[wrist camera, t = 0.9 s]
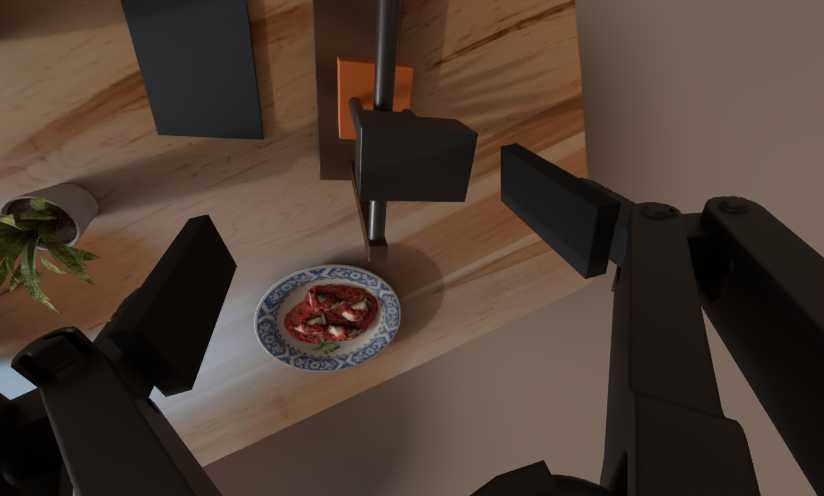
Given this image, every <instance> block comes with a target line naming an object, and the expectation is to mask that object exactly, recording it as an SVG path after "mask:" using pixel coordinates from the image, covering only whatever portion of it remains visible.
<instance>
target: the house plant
mask: <svg viewBox="0 0 824 496" xmlns="http://www.w3.org/2000/svg"><path fill="white" fill-rule="evenodd" d="M98 209H99V207H98V203H97V201H96V199H95V198H94V196H93V195H92V194H91V193H89V192H88V191H87V190H85V189H83V188H81V187H79V186H76V185H73V184H58V185H54V186H51V187H48V188H44V189H41V190H38V191H34V192H31V193H27V194H24V195H21V196H17V197H14V198H11V199H8V200H7V201H6V202H4V203H3V204H2V206H1V207H0V261H1V260H2V259H3V258H4V257H5V256H6V255H7V256H6V257H5V259H4V261H3V262H2V264H1V266H0V286H1V285H2V283H3V282H4V281H5V279H6V277H7V274H8V272H9V273H10V274H11V275H12V276H11V281H10V288H9V290H10V293H12V292H13V290H14V289H15V287H16V285H17V284H18V282H19V281H20V279H21V278H22V280H23V283H24V287H25V288H26V290H27V292H28V293H29V295H30V296H31V297H33V298H34V299H35V300H37V301H38V302H40V303H42V304H43V305H45V306H46V307H47V308H49V309H51V310H52V311H55V312H57V313H60V312H59V311H58V310H57V309H56V308H54V307H53V306H52V305H51V304H50V303H49V302H48V301H47V300H49V299H48V298H47V297H46V296H45V295H43V293H42V292H41V291H40V289H39V288H38V285H37V283H36V282H41V281H42V278H41V277H40V275H39V274H38V272H37V271H36V269H35V262H36V249H38V253H39V256H40V259H41V261H42V262H43V264H44V265H45V266H46V267H47V268H48V269H50V270H53V271H55V272H57V273H59V274H68V273H66V272H64V271H62V270H60V269H58V268H57V267H55V266H54V265H53V264H51V263H50V262H49V261H47V260H46V258H45V257H44V256H43V255H42V253H41V252H40V251H39V249H41V250H48V251H49V252H50V254H51V255H52V257H53V258H54V259H56V260H57V261H58V262H59V263H61V264H62V265H64V266H66V268H67V269H68V270H69V271H70V272H71V273H72V274H74V275H75V276H76V277H78V278H80V279H82V280H84V281H85V280H86V281H87V282H89V283H91V284H93V285H94V283H93V282H92V280H91V278H90V277H89V276H88V275H87V274H86V273H85V272H84V271H83V270H82V269H85V268H90V267H87V266H86V265H85V264H84V263H82V262H80V261H79V260H84V261H87V260H93V259H97V258H100V257H98V256H96V255H94V254H92V253H89V252H87V251H83V250H79V249H76V248H72V247H71V246H73V245H74V244H76V243H77V241H78V240H79V238H80V237H81V235H82V234H83V233H84V231H85V230H86V228H87V227H88V225H89V224H90V223H91V221H92V220H93V218H94V217H95V215H96V214H97V213H98ZM20 252H21V256H20V264H19V266H18V267H17V269H16V270H15V272H14V273H13V268H14V263H15V260H16V259H17V257H18V255H19V254H20ZM77 259H78V260H77ZM46 299H47V300H46ZM49 301H51V300H49ZM51 302H52V301H51ZM60 314H61V313H60ZM61 315H62V314H61Z"/></svg>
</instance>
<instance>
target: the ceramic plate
mask: <svg viewBox="0 0 824 496" xmlns="http://www.w3.org/2000/svg"><path fill="white" fill-rule="evenodd" d="M400 321H401V307H400V302H399V300H398V297H397V295H396V293H395V292H394V290H393V289H392V288H391V286H390V285H389V284H388V283H387V282H385V281H384V280H383V279H382V278H381V277H379V276H377V275H375V274H374V273H372V272H370V271H367V270H365V269H362V268H359V267H354V266H349V265H341V264H327V265H318V266H313V267H309V268H305V269H302V270H299V271H296V272H294V273H292V274H290V275H288V276H286V277H284V278H282V279H281V280H280V281H278V282H277V283H276V284H274V285H273V286H272V287H271V288H270V289H269V290H268V291H267V292H266V293H265V295H264V296H263V297H262V299H261V301H260V302H259V304H258V307H257V309H256V312H255V317H254V328H255V333H256V336H257V339H258V341H259V343H260V344H261V346H262V347H263V348H264V350H265V351H266V352H267V353H268V354H270V355H271V356H272V357H273V358H275V359H276V360H278V361H280V362H282V363H283V364H286V365H288V366H291V367H294V368H297V369H301V370H306V371H318V372H326V371H337V370H342V369H346V368H350V367H354V366H356V365H359V364H361V363H363V362H365V361H367V360H369V359H371V358H373V357H374V356H376V355H377V354H378V353H380V352H381V351H382V350H383V349H384V348H385V347H386V346H387V345H388V344H389V343H390V342H391V341H392V339H393V338H394V336H395V335H396V333H397V330H398V328H399V325H400Z"/></svg>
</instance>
